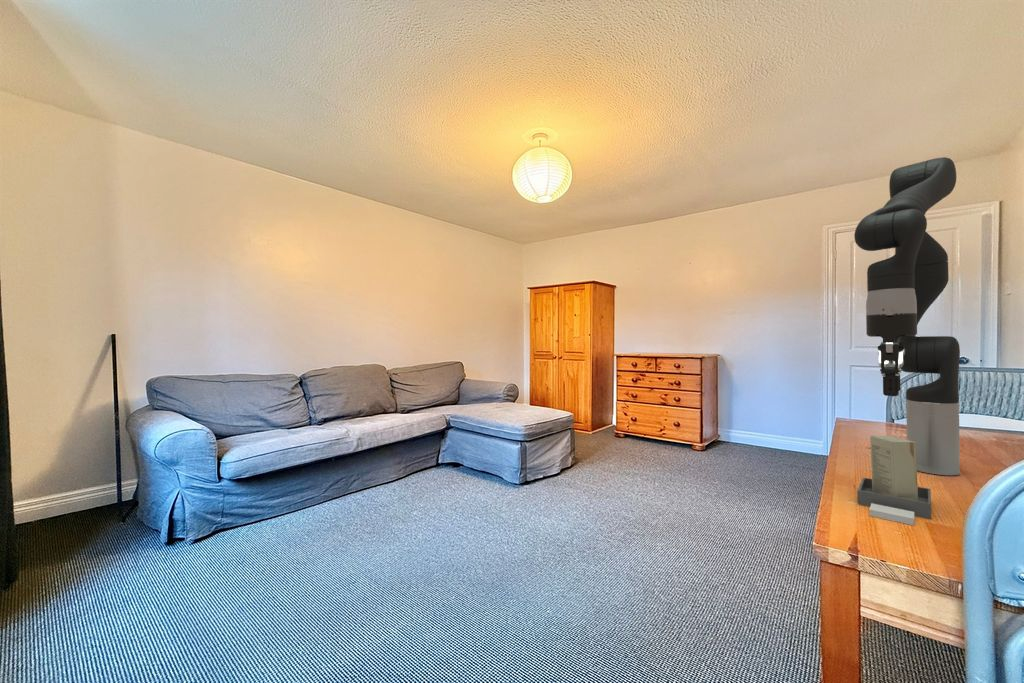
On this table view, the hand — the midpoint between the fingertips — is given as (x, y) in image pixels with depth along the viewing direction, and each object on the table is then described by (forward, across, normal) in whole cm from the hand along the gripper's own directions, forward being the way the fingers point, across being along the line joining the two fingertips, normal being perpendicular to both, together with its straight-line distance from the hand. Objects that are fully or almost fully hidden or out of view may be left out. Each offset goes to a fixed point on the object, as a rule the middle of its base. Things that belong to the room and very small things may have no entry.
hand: (892, 393), depth 83 cm
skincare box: (+22, 0, 0) cm, 22 cm away
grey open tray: (+22, +3, 0) cm, 22 cm away
